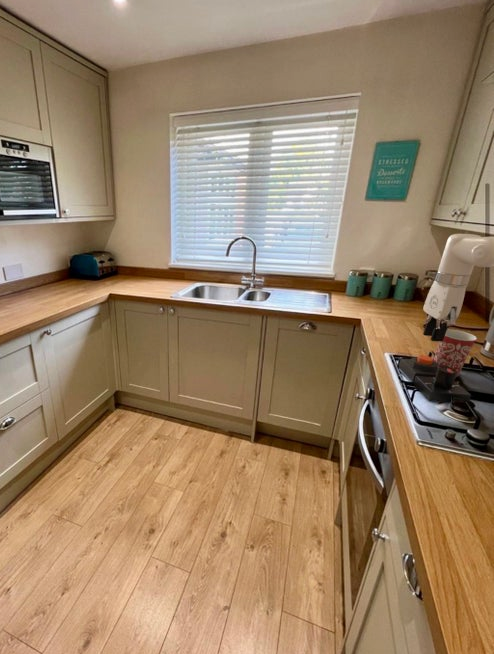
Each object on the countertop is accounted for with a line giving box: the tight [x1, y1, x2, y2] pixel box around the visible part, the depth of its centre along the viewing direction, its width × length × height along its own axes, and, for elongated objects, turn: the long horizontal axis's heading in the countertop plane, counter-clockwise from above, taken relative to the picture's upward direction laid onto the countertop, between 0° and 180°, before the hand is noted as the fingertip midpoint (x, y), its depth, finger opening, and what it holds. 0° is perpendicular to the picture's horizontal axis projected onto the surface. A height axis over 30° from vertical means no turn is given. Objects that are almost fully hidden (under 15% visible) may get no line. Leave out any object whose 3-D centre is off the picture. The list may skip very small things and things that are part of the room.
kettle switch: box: [417, 354, 434, 365], centre depth 104 cm, size 4×4×2 cm
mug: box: [433, 328, 478, 378], centre depth 107 cm, size 13×9×14 cm
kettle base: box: [398, 356, 438, 383], centre depth 105 cm, size 9×10×5 cm
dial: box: [433, 366, 457, 389], centre depth 94 cm, size 4×4×5 cm
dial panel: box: [412, 376, 472, 404], centre depth 96 cm, size 10×9×3 cm
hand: (432, 337), depth 101 cm, fingers open, 3 cm apart
